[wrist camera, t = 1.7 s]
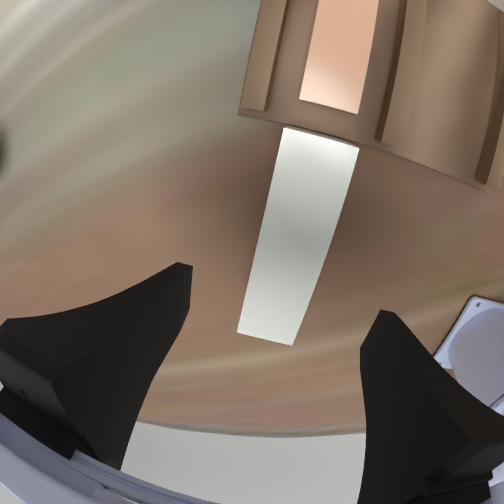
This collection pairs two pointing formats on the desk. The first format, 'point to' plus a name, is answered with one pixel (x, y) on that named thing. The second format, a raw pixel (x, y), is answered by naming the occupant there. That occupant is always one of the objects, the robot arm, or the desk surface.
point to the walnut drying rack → (397, 83)
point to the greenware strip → (296, 231)
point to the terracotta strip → (339, 54)
